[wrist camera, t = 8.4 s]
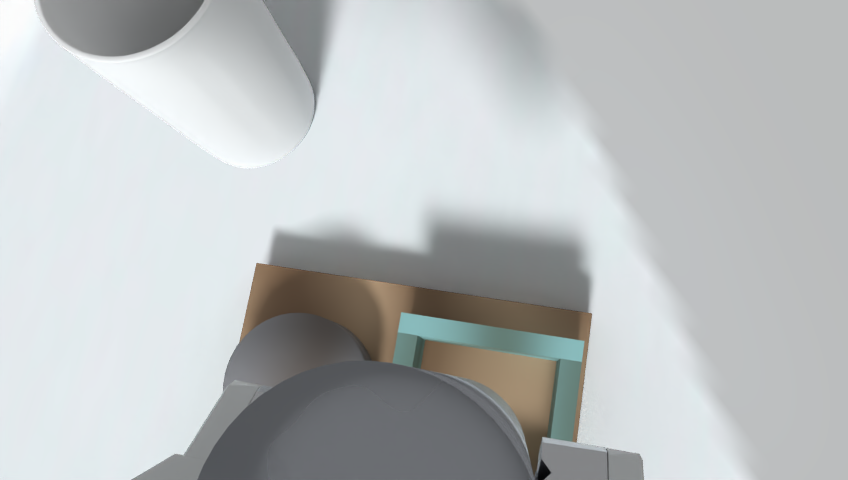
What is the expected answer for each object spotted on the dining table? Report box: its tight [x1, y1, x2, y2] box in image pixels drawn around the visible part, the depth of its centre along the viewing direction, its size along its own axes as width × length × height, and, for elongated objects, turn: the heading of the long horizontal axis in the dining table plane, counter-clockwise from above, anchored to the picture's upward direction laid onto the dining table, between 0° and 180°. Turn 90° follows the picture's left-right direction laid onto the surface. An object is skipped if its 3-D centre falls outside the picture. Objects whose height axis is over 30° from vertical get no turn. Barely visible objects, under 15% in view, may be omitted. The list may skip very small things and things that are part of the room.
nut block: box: [223, 263, 592, 477], centre depth 28 cm, size 15×12×4 cm
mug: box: [34, 0, 315, 168], centre depth 29 cm, size 10×7×12 cm, turn 34°
